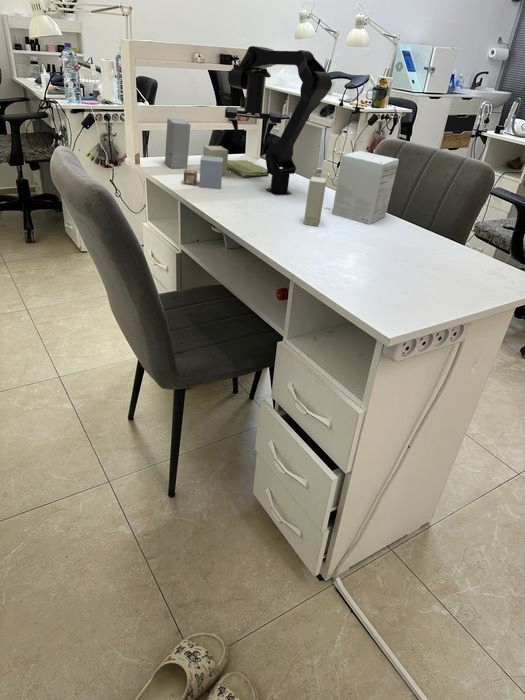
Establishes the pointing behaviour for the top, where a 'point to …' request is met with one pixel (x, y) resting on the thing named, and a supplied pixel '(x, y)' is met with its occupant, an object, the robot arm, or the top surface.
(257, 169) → the washcloth
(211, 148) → the taupe cardboard box
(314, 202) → the skincare box
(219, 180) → the blue box
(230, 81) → the robot arm
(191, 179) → the brown picture frame
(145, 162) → the top surface
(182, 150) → the skincare box
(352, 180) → the supplement box
